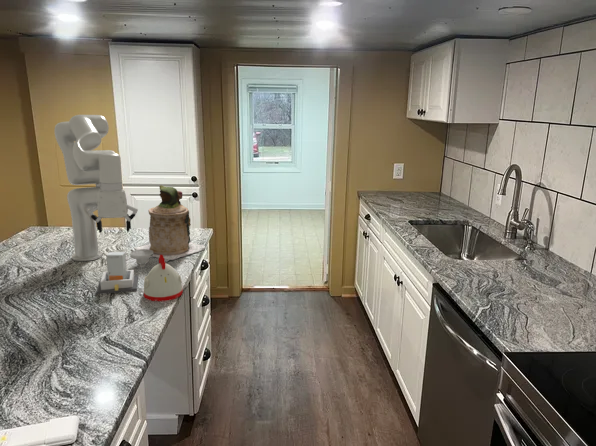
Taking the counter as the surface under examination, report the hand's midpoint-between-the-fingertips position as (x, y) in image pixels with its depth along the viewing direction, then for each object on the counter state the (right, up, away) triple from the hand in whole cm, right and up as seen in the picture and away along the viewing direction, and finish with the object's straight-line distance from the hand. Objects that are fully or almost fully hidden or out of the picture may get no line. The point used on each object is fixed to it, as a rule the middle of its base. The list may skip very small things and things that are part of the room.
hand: (114, 231), depth 167 cm
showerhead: (+2, -16, +23) cm, 28 cm away
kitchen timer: (+20, -23, -3) cm, 31 cm away
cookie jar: (+8, -11, +45) cm, 47 cm away
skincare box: (0, -20, +3) cm, 20 cm away
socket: (0, -21, +3) cm, 21 cm away
